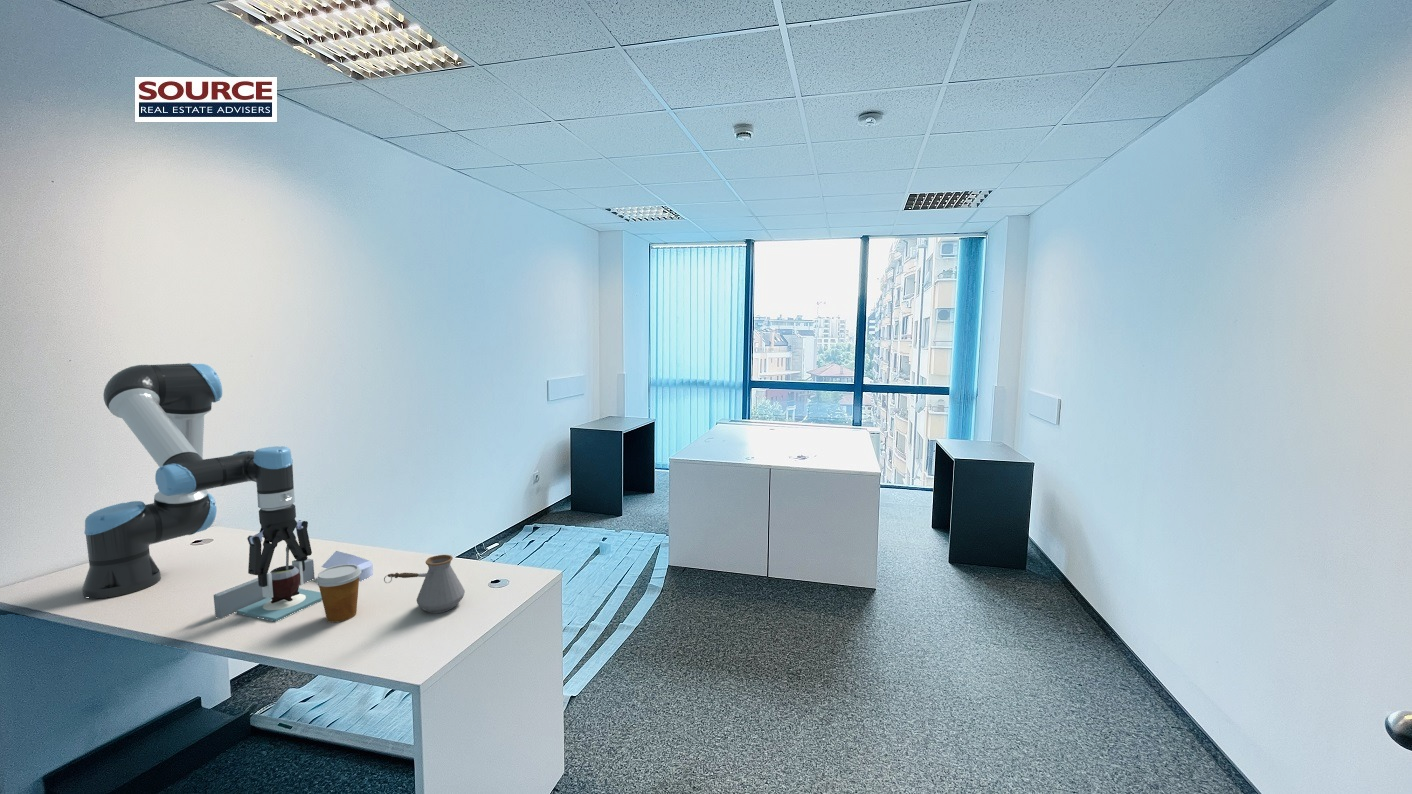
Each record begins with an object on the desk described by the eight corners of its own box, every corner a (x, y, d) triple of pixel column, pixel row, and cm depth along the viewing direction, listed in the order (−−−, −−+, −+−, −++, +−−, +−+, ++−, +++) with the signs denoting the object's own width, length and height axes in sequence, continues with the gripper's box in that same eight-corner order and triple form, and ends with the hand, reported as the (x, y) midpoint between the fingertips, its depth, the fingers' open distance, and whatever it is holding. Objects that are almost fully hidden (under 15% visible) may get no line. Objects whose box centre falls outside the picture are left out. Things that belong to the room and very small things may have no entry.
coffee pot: (441, 593, 150) (439, 541, 148) (474, 599, 146) (472, 546, 145) (371, 631, 130) (368, 572, 128) (408, 640, 126) (404, 578, 125)
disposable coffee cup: (329, 629, 131) (326, 582, 129) (311, 619, 136) (308, 573, 134) (371, 613, 139) (368, 568, 137) (352, 603, 144) (349, 560, 143)
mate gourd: (276, 607, 138) (271, 550, 136) (261, 599, 142) (257, 544, 140) (308, 595, 144) (304, 541, 143) (294, 588, 148) (290, 536, 147)
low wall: (215, 617, 136) (213, 594, 136) (309, 578, 159) (308, 558, 159) (220, 618, 136) (218, 595, 135) (314, 579, 159) (313, 559, 158)
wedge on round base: (322, 577, 160) (349, 586, 154) (320, 555, 159) (348, 563, 154) (352, 566, 168) (379, 573, 162) (351, 545, 167) (378, 552, 162)
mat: (237, 613, 138) (236, 610, 138) (292, 589, 152) (292, 586, 152) (276, 621, 134) (275, 618, 134) (330, 596, 148) (329, 593, 148)
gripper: (244, 519, 130) (252, 610, 132) (324, 497, 149) (330, 576, 151) (223, 516, 132) (231, 605, 134) (304, 494, 151) (310, 573, 153)
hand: (283, 590), depth 143 cm, fingers closed on mate gourd, 7 cm apart
